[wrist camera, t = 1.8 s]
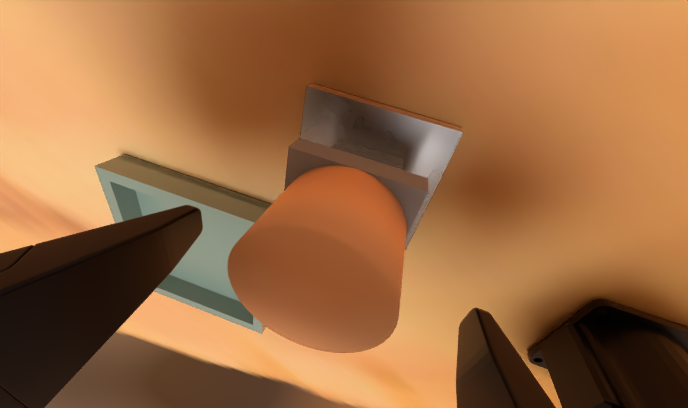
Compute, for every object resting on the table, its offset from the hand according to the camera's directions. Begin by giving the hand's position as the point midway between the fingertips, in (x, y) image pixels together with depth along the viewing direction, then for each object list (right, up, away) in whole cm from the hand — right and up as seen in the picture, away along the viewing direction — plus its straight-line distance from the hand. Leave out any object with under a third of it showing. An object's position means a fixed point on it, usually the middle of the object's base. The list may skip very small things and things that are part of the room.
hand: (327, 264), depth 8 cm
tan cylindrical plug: (+1, +2, +3) cm, 3 cm away
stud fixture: (+2, +4, +6) cm, 7 cm away
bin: (-10, -1, +12) cm, 16 cm away
